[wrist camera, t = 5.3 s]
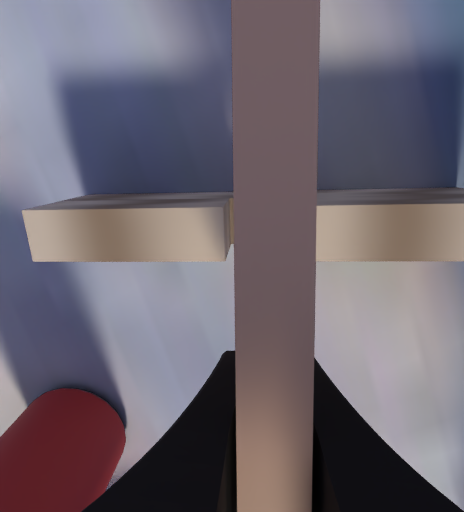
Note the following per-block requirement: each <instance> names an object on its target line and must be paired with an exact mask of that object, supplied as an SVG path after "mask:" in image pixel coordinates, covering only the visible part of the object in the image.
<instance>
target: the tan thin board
mask: <svg viewBox="0 0 464 512" xmlns="http://www.w3.org/2000/svg"><path fill="white" fill-rule="evenodd" d="M231 23H232V110H233V196H234V282H235V368H236V454H237V512H312V457H313V398H314V338H315V279H316V219H317V159H318V100H319V40H320V0H231Z"/></svg>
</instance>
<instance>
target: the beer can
mask: <svg viewBox="0 0 464 512" xmlns="http://www.w3.org/2000/svg"><path fill="white" fill-rule="evenodd" d="M125 442H126V436H125V430H124V425H123V423H122V421H121V419H120V417H119V415H118V413H117V412H116V411H115V410H114V409H113V408H112V407H111V406H110V405H109V404H108V402H107V401H105V400H103V399H102V398H100V397H98V396H97V395H95V394H93V393H90V392H87V391H84V390H81V389H71V388H60V389H57V390H53V391H49V392H46V393H44V394H43V395H41V396H40V397H38V398H37V399H35V400H34V401H33V402H32V403H31V404H30V405H29V406H28V407H27V409H26V410H25V411H24V412H23V413H22V414H21V415H20V416H19V417H18V418H17V420H16V421H15V422H14V423H13V424H12V425H11V426H10V427H9V428H8V429H7V431H6V432H5V433H4V434H3V435H2V436H1V437H0V512H81V511H82V510H83V509H85V508H86V507H87V506H88V505H90V504H91V503H92V502H93V501H95V500H96V499H97V498H98V497H100V496H101V495H102V494H103V493H104V492H105V490H106V488H107V486H108V484H109V481H110V479H111V477H112V475H113V473H114V471H115V468H116V466H117V464H118V462H119V460H120V458H121V455H122V453H123V450H124V446H125Z"/></svg>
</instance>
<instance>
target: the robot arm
mask: <svg viewBox="0 0 464 512" xmlns="http://www.w3.org/2000/svg"><path fill="white" fill-rule="evenodd" d="M81 512H237V454H236V368H235V351H226V352H224V353H223V354H222V356H221V358H220V360H219V362H218V364H217V365H216V367H215V369H214V370H213V372H212V373H211V375H210V376H209V378H208V379H207V381H206V382H205V384H204V385H203V387H202V388H201V389H200V391H199V392H198V394H197V395H196V396H195V398H194V399H193V401H192V402H191V403H190V404H189V406H188V407H187V408H186V409H185V411H184V412H183V413H182V414H181V415H180V417H179V418H178V419H177V420H176V422H175V423H174V424H173V425H172V426H171V427H170V429H169V430H168V431H167V432H166V433H165V434H164V435H163V436H162V438H161V439H160V440H159V441H158V442H157V443H156V444H155V445H154V446H153V447H152V448H151V449H150V450H149V451H148V452H147V453H146V454H145V455H144V456H143V457H142V458H141V459H140V460H139V461H138V462H137V463H136V464H135V465H134V466H133V467H132V468H131V469H130V470H128V471H127V472H126V473H125V474H124V475H123V476H122V477H121V478H120V479H119V480H118V481H117V482H116V483H114V484H113V485H112V486H111V487H110V488H109V489H108V490H107V491H105V492H104V493H103V494H102V495H101V496H100V497H98V498H97V499H96V500H95V501H93V502H92V503H91V504H90V505H88V506H87V507H86V508H85V509H83V510H82V511H81ZM312 512H464V511H463V510H462V509H460V508H459V507H458V506H457V505H455V504H454V503H453V502H452V501H451V500H449V499H448V498H447V497H446V496H444V495H443V494H442V493H441V492H439V491H438V490H437V489H436V488H435V487H433V486H432V485H431V484H430V483H429V482H428V481H427V480H425V479H424V478H423V477H422V476H421V475H420V474H418V473H417V472H416V471H415V470H414V469H413V468H412V467H411V466H410V465H409V464H408V463H407V462H405V461H404V460H403V459H402V458H401V457H400V456H399V455H398V454H397V453H396V452H395V451H394V450H393V449H392V448H391V447H390V446H389V445H388V444H387V443H386V442H385V441H384V440H383V439H382V438H381V437H380V436H379V435H378V434H377V433H376V432H375V431H374V430H373V429H372V428H371V427H370V426H369V424H368V423H367V422H366V421H365V420H364V419H363V418H362V417H361V416H360V415H359V413H358V412H357V411H356V410H355V409H354V408H353V407H352V405H351V404H350V403H349V402H348V401H347V399H346V398H345V397H344V396H343V395H342V393H341V392H340V391H339V390H338V389H337V387H336V386H335V385H334V384H333V382H332V381H331V380H330V378H329V377H328V376H327V374H326V373H325V372H324V370H323V369H322V368H321V366H320V365H319V363H318V362H317V360H316V359H315V358H314V398H313V457H312Z"/></svg>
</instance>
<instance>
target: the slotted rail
mask: <svg viewBox="0 0 464 512" xmlns="http://www.w3.org/2000/svg"><path fill="white" fill-rule="evenodd" d="M22 214H23V219H24V223H25V228H26V232H27V237H28V241H29V246H30V250H31V255H32V260H33V262H197V261H226V257H227V254H228V251H229V248H230V245H231V244H234V196H233V192H196V193H145V194H94V195H85V196H81V197H77V198H72V199H68V200H64V201H60V202H55V203H51V204H47V205H42V206H38V207H34V208H29V209H25V210H22ZM316 261H464V189H463V188H457V187H453V188H402V189H350V190H317V219H316Z"/></svg>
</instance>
